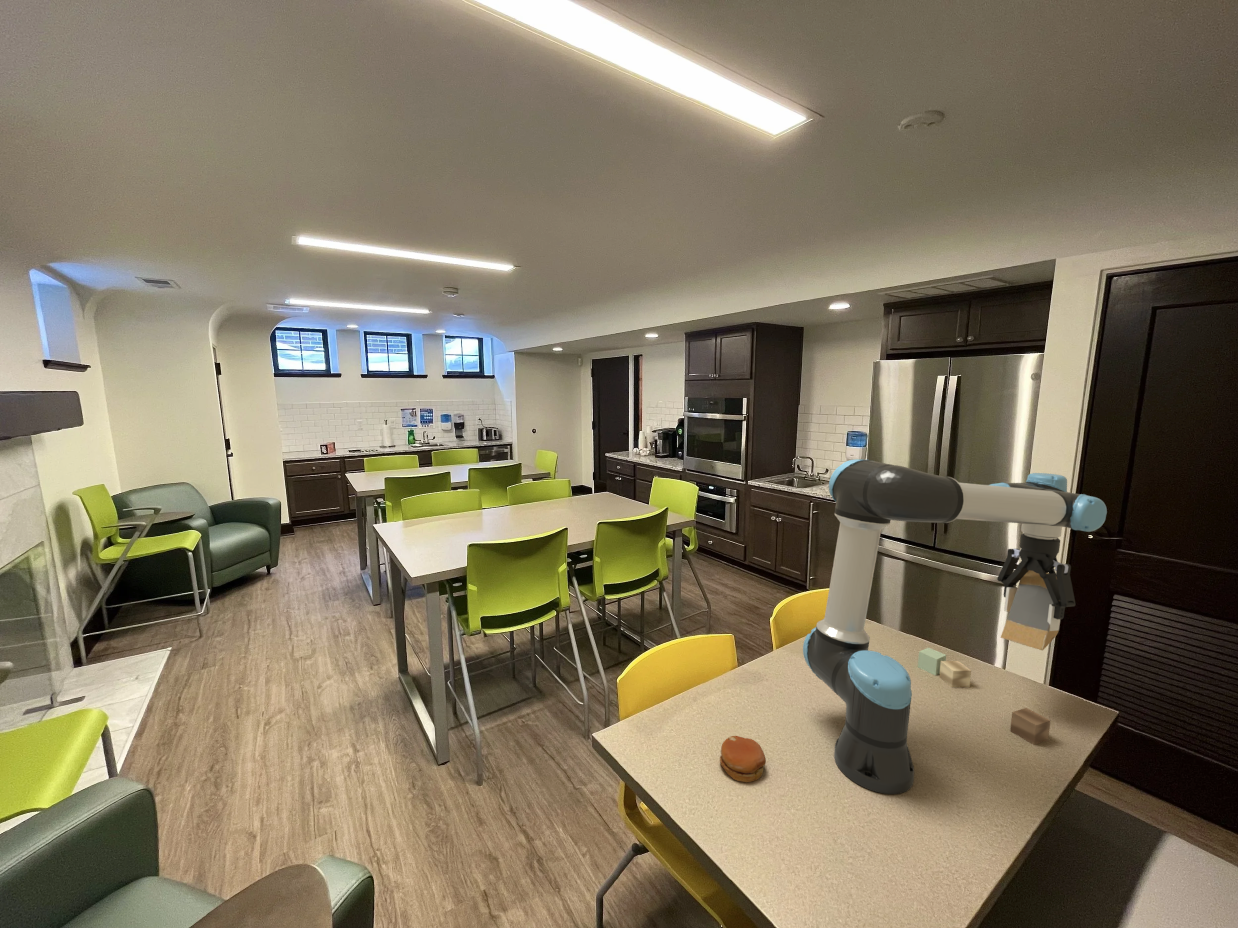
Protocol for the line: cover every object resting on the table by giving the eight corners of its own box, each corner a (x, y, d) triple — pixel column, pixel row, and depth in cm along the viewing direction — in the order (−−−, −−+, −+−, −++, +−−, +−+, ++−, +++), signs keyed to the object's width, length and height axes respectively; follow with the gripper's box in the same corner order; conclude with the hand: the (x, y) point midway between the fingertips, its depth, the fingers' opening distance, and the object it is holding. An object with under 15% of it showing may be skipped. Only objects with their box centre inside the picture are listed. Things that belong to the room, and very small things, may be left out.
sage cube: (935, 675, 139) (936, 659, 138) (917, 667, 143) (918, 651, 143) (944, 670, 141) (946, 654, 141) (927, 663, 146) (928, 647, 145)
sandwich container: (998, 637, 121) (1004, 579, 120) (1017, 620, 131) (1022, 566, 129) (1043, 651, 115) (1050, 590, 113) (1059, 632, 124) (1066, 576, 122)
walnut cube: (1033, 745, 111) (1036, 725, 110) (1010, 731, 115) (1012, 711, 115) (1048, 740, 112) (1050, 720, 112) (1024, 726, 117) (1026, 707, 116)
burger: (750, 790, 98) (750, 769, 97) (711, 766, 104) (711, 746, 104) (773, 765, 105) (774, 745, 104) (735, 744, 111) (736, 725, 111)
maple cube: (951, 687, 133) (953, 670, 132) (939, 677, 138) (940, 660, 137) (969, 687, 133) (971, 670, 133) (956, 677, 138) (958, 660, 138)
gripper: (1105, 548, 110) (1092, 640, 113) (1009, 523, 132) (1000, 601, 135) (1077, 549, 109) (1065, 642, 112) (986, 524, 131) (977, 602, 134)
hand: (1030, 620), depth 123 cm, fingers closed on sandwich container, 10 cm apart
